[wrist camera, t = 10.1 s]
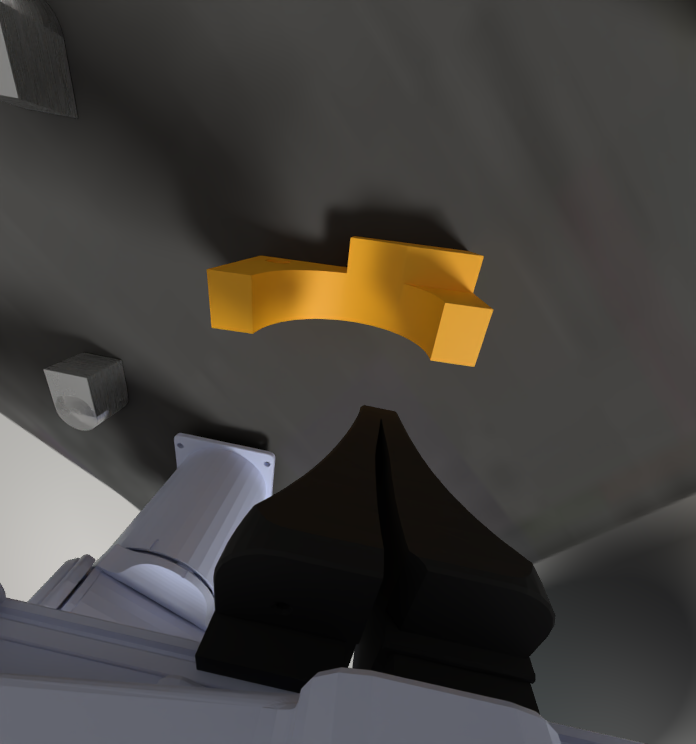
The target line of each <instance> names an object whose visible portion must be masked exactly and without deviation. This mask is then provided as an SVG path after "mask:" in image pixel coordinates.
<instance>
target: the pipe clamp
mask: <svg viewBox="0 0 696 744" xmlns="http://www.w3.org/2000/svg"><path fill="white" fill-rule="evenodd" d="M483 257H484V256H482V255H479V254H476V253H473V252H470V251H464V250H457V249H449V248H442V247H434V246H427V245H419V244H411V243H404V242H396V241H389V240H381V239H374V238H366V237H358V236H353V237H351V239H350V249H349V258H348V267H341V266H334V265H327V264H319V263H312V262H305V261H297V260H290V259H283V258H276V257H268V256H257V257H253V258H249V259H245V260H241V261H237V262H233V263H229V264H226V265H222V266H218V267H214V268H210V269H207V278H208V290H209V302H210V313H211V325H212V328H218V329H225V330H231V331H238V332H245V333H251V334H253V333H254V332H256V331H257V330H259V329H261V328H263V327H266V326H268V325H271V324H275V323H279V322H284V321H290V320H298V319H334V320H344V321H352V322H357V323H363V324H367V325H372V326H376V327H379V328H383V329H386V330H389V331H391V332H394V333H397V334H399V335H401V336H403V337H405V338H407V339H409V340H411V341H412V342H414V343H416V344H417V345H418V346H420V347H421V348H422V349H423V350H424V351H425V352H426V353H427V355H428V356H429V358H430V360H432V361H439V362H445V363H452V364H459V365H465V366H472V367H474V366H475V363H476V360H477V357H478V354H479V351H480V348H481V345H482V342H483V339H484V336H485V333H486V330H487V327H488V324H489V321H490V318H491V315H492V312H493V309H492V308H491V307H489V306H488V305H487V304H486V303H484V302H483V301H482V300H481V299H479V298H478V297H477V296H476V295H474V294H473V291H474V288H475V285H476V281H477V278H478V274H479V271H480V268H481V264H482V261H483Z"/></svg>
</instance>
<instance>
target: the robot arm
mask: <svg viewBox="0 0 696 744" xmlns="http://www.w3.org/2000/svg"><path fill="white" fill-rule="evenodd" d="M174 444H175V453H176V462H177V470H176V471H175V472H174V473H173V474H172V475H171V477H170V478H169V479H168V480H167V481H166V483H165V484H164V485H163V486H162V487H161V488H160V490H159V491H158V492H157V493H156V494H155V495H154V497H153V498H152V499H151V500H150V501H149V502H148V504H147V505H146V506H145V507H144V508H143V510H142V511H141V512H140V513H139V514H138V515H137V517H136V518H135V519H134V520H133V521H132V523H131V524H130V525H129V526H128V527H127V528H126V530H125V531H124V532H123V533H122V534H121V535H120V537H119V538H118V539H117V540H116V541H115V542H114V544H113V545H112V546H111V547H110V548H109V549H108V551H106V553H105V554H103V555H102V556H101V557H100V558H99V559H98V560H97V561H96V562H95V559H94V558H93V557H91V556H90V555H88V554H86V555H83V556H82V557H81V558H76V559H72V560H68V561H66V562H65V563H64V564H63V565H62V566H61V567H60V568H59V569H58V570H57V572H55V574H54V575H53V576H52V577H51V578H50V579H49V580H48V581H47V582H46V583H45V584H44V585H43V586H42V587H41V588H40V589H39V590H38V591H37V593H35V595H33V597H32V598H31V599H30V600H29V601H28V602H23V601H18V600H14V599H10V598H6V595H5V591H4V589H3V587H2V585H1V584H0V744H646V743H641V742H637V741H632V740H628V739H624V738H619V737H615V736H610V735H606V734H602V733H597V732H593V731H589V730H584V729H580V728H575V727H570V726H567V725H562V724H557V723H553V722H549V721H546V720H545V719H544V718H543V717H542V716H540V713H539V710H538V706H537V704H536V700H535V697H534V694H533V691H532V687H531V684H530V683H532V684H533V683H534V682H535V673H534V670H533V667H532V664H531V661H530V658H529V656H530V655H531V654H532V653H533V652H534V651H535V650H536V649H537V648H538V646H539V645H540V644H541V643H542V642H543V641H544V640H545V639H546V638H547V637H548V635H549V633H550V631H551V630H552V628H553V627H554V623H555V613H554V611H553V609H552V606H551V604H550V601H549V599H548V597H547V594H546V592H545V589H544V587H543V584H542V582H541V580H540V578H539V576H538V574H537V572H536V570H535V568H534V566H533V564H532V563H531V562H530V561H528V560H527V559H526V558H525V557H523V556H522V555H521V554H519V553H518V552H517V551H515V550H514V549H513V548H511V547H510V546H509V545H507V544H506V543H505V542H503V541H502V540H501V539H500V538H498V537H497V536H496V535H495V534H493V533H492V532H491V531H490V530H489V529H488V528H487V527H485V526H484V525H483V524H482V523H481V522H480V521H478V520H477V519H476V518H475V517H474V516H473V515H472V514H471V513H470V512H469V511H468V510H467V509H466V508H465V507H464V506H463V505H462V504H461V503H460V502H459V501H458V500H457V499H456V498H455V497H454V496H453V495H452V494H451V493H450V492H449V491H448V490H447V489H446V488H445V487H444V485H443V484H442V483H441V482H440V481H439V479H438V478H437V477H436V476H435V475H434V473H433V472H432V471H431V469H430V468H429V467H428V465H427V464H426V463H425V461H424V460H423V458H422V457H421V455H420V454H419V452H418V451H417V449H416V447H415V446H414V444H413V442H412V441H411V439H410V437H409V436H408V434H407V432H406V430H405V428H404V426H403V424H402V422H401V420H400V418H399V416H398V414H397V413H396V412H395V411H390V410H385V409H380V408H375V407H370V406H366V405H364V406H362V407H361V408H360V412H359V414H358V416H357V418H356V420H355V422H354V423H353V425H352V426H351V428H350V429H349V431H348V432H347V433H346V435H345V436H344V437H343V438H342V440H341V441H340V442H339V443H338V444H337V446H336V447H335V448H334V449H333V450H332V451H331V452H330V453H329V454H328V455H327V456H326V457H325V458H324V459H323V460H322V461H321V462H320V463H318V464H317V465H316V466H315V467H314V468H313V469H311V470H310V471H309V472H308V473H306V474H305V475H304V476H302V477H301V478H299V479H298V480H296V481H295V482H293V483H292V484H290V485H289V486H287V487H286V488H284V489H283V490H281V491H280V492H278V493H276V494H274V495H272V491H273V478H274V466H275V455H274V454H273V453H272V452H270V451H265V450H260V449H256V448H251V447H246V446H241V445H237V444H232V443H227V442H222V441H217V440H213V439H208V438H203V437H198V436H194V435H189V434H184V433H178V434H177V435H176V436H175V437H174ZM267 462H269V463H267ZM94 562H95V563H94ZM93 563H94V564H93ZM353 653H354V659H353V668H348V666H349V663H350V661H351V658H352V655H353Z"/></svg>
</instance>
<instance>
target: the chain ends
mask: <svg viewBox="0 0 696 744" xmlns="http://www.w3.org/2000/svg"><path fill="white" fill-rule="evenodd" d="M0 101H2V102H5V103H8V104H11V105H15V106H18V107H21V108H24V109H29V110H34V111H40V112H45V113H50V114H56V115H61V116H67V117H72V118H78V116H77V110H76V104H75V99H74V93H73V88H72V82H71V77H70V71H69V66H68V60H67V55H66V49H65V43H64V38H63V33H62V30H61V27H60V24H59V22H58V19H57V17H56V15H55V14H54V12H53V10H52V9H51V8H50V6H49V5H48V4H47V3H46V1H45V0H0ZM43 370H44V373H45V376H46V379H47V382H48V386H49V389H50V392H51V395H52V398H53V402H54V405H55V408H56V411H57V413H58V415H59V416H60V417H61V419H62V420H63V421H64V422H66V423H67V424H68V425H70V426H71V427H73V428H75V429H78V430H83V431H88V430H91V429H93V428H94V427H96V426H97V425H99V424H100V423H102V422H103V421H104V420H106V419H107V418H109V417H110V416H112V415H113V414H114V413H116V412H117V411H119V410H120V409H122V408H123V407H124V406H126V405H127V403H128V393H127V387H126V382H125V376H124V371H123V365H122V360H119V359H114V358H109V357H104V356H99V355H94V354H89V353H84V352H83V353H80V354H78V355H76V356H73V357H71V358H69V359H66V360H64V361H61V362H59V363H57V364H54V365H52V366H50V367H47V368H45V369H43Z"/></svg>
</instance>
